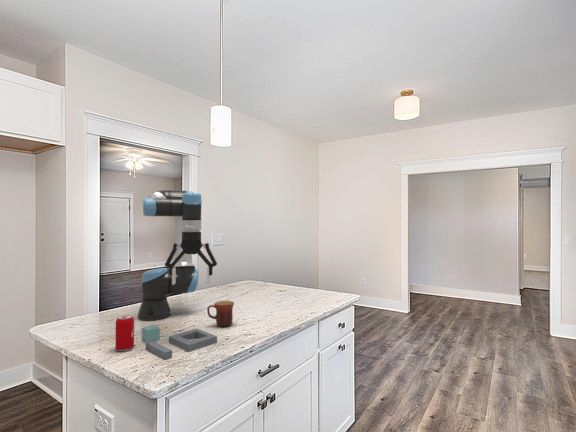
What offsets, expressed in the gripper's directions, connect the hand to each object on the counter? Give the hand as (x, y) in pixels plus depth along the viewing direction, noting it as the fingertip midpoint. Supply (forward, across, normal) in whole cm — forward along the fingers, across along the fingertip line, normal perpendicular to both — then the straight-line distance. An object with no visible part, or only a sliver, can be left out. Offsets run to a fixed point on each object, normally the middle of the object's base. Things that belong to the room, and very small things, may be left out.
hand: (191, 283), depth 136 cm
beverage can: (+22, -22, -9) cm, 33 cm away
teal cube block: (+22, -16, 0) cm, 27 cm away
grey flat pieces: (+22, -2, -7) cm, 23 cm away
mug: (+22, +10, +16) cm, 30 cm away
